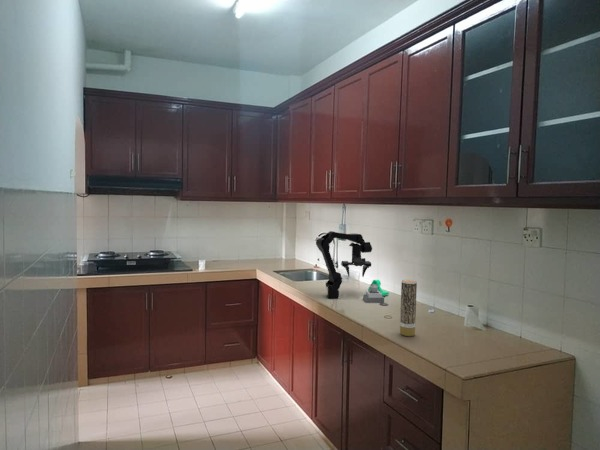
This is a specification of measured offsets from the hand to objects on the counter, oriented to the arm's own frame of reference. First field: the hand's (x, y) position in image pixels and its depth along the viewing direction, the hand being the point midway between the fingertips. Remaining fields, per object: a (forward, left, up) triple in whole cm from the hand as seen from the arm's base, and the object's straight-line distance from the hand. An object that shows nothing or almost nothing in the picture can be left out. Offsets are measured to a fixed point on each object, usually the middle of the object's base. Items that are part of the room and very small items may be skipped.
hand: (355, 276), depth 262 cm
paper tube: (+8, -76, -12) cm, 77 cm away
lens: (+8, -15, -9) cm, 19 cm away
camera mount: (+16, +1, -12) cm, 20 cm away
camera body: (+8, -15, -12) cm, 21 cm away
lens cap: (+12, -24, -12) cm, 29 cm away
